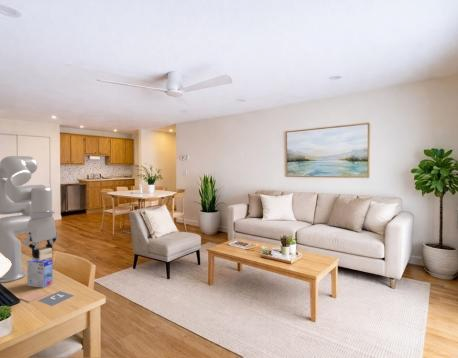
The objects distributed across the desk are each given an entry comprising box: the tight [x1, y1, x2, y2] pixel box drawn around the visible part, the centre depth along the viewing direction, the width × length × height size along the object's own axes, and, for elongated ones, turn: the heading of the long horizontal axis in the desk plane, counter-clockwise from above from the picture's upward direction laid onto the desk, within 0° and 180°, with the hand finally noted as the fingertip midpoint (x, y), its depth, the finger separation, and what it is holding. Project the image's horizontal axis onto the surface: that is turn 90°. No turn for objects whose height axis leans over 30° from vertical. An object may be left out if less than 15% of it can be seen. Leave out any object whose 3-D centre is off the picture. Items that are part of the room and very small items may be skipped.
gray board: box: [37, 290, 75, 307], centre depth 121 cm, size 10×10×1 cm
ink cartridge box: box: [26, 258, 54, 289], centre depth 133 cm, size 10×6×14 cm, turn 78°
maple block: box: [32, 246, 53, 261], centre depth 121 cm, size 5×5×4 cm
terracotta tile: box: [19, 290, 47, 303], centre depth 121 cm, size 7×7×1 cm
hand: (42, 255), depth 121 cm, fingers closed on maple block, 5 cm apart
